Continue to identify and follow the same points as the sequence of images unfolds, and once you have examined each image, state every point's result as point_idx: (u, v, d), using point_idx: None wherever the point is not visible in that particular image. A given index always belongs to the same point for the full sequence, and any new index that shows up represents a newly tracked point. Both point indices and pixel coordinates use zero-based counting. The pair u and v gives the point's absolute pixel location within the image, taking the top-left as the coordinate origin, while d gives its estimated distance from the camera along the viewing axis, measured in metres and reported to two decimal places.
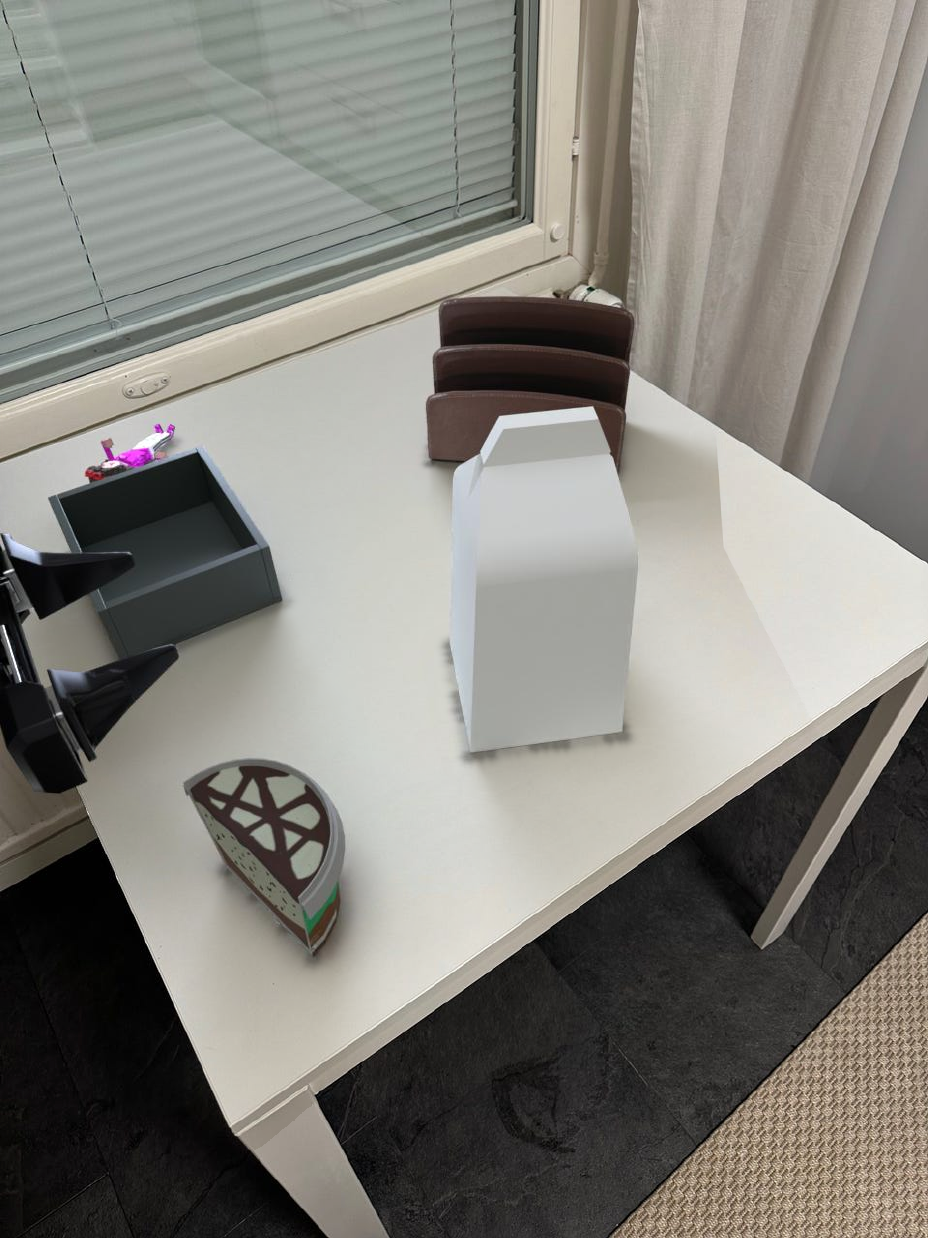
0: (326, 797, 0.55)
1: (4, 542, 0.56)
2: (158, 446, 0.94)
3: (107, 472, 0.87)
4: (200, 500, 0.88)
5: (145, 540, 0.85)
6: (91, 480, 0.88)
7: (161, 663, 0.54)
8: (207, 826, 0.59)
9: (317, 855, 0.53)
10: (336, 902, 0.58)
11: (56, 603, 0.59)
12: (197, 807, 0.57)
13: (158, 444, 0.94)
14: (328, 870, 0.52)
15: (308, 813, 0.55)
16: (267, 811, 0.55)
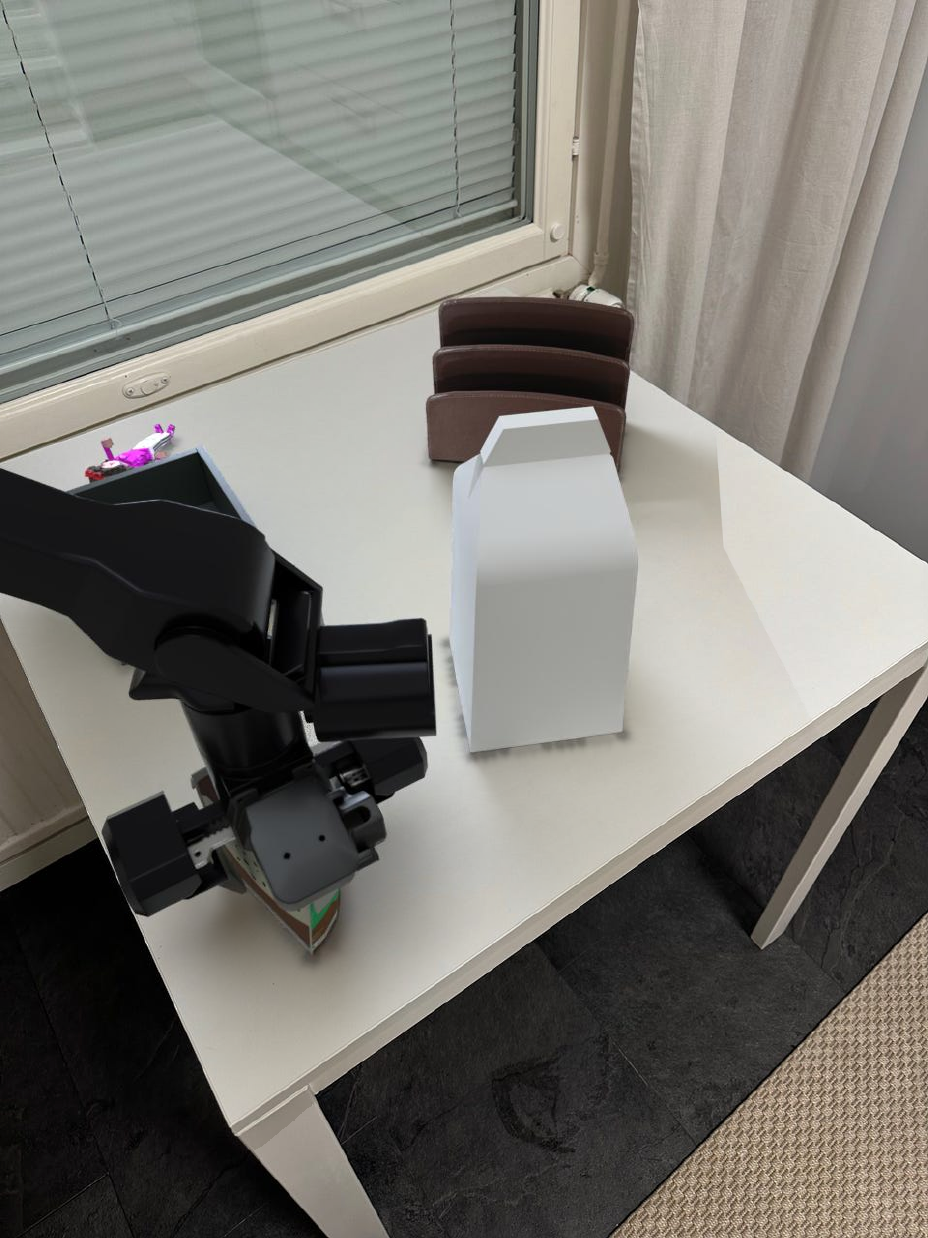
0: None
1: (378, 803, 0.55)
2: (158, 446, 0.94)
3: (107, 471, 0.87)
4: (200, 500, 0.88)
5: None
6: (91, 480, 0.88)
7: None
8: None
9: None
10: (338, 901, 0.59)
11: None
12: (202, 801, 0.57)
13: (158, 444, 0.94)
14: None
15: None
16: None
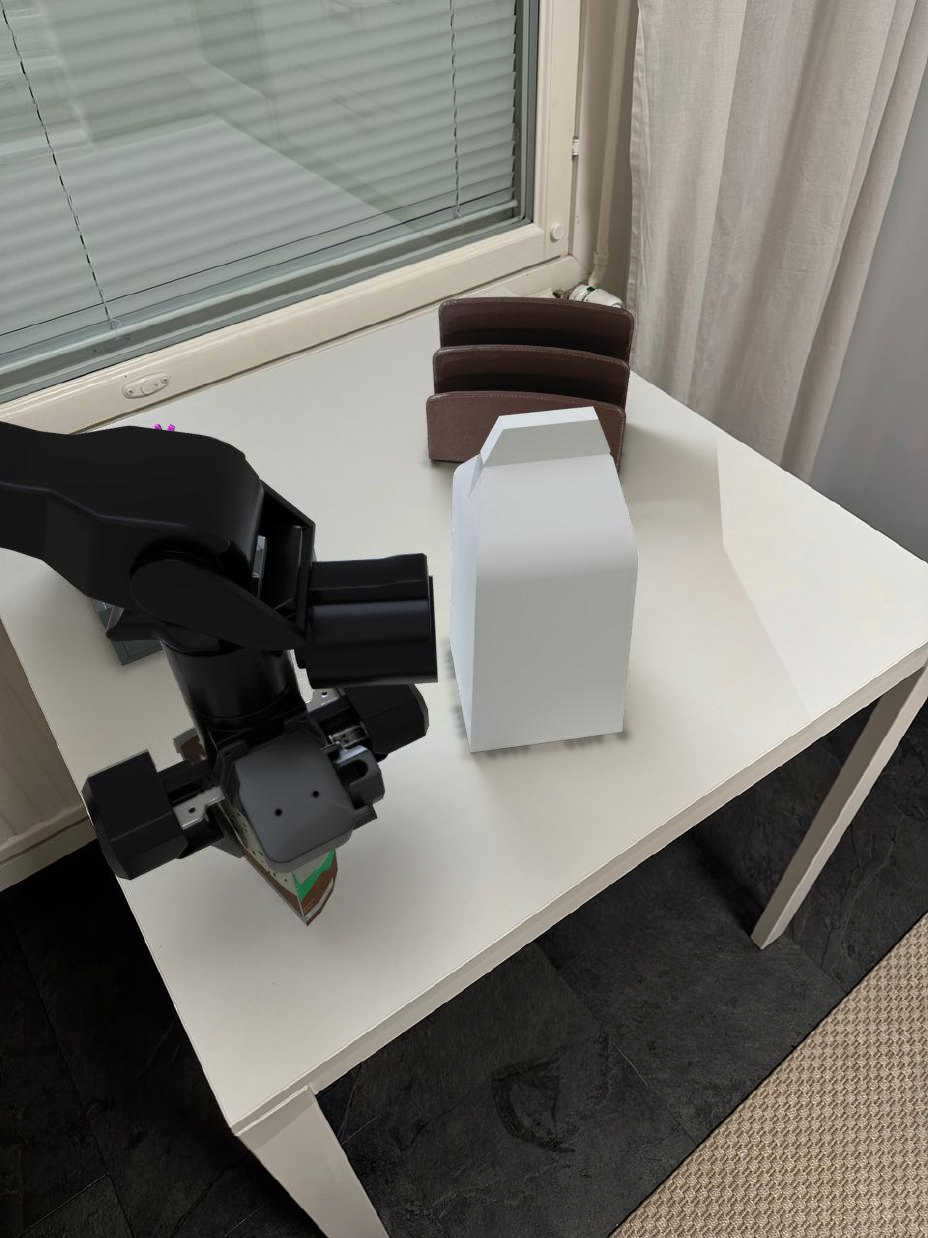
0: None
1: None
2: None
3: None
4: None
5: None
6: None
7: None
8: None
9: None
10: (332, 870, 0.55)
11: None
12: None
13: None
14: None
15: None
16: None
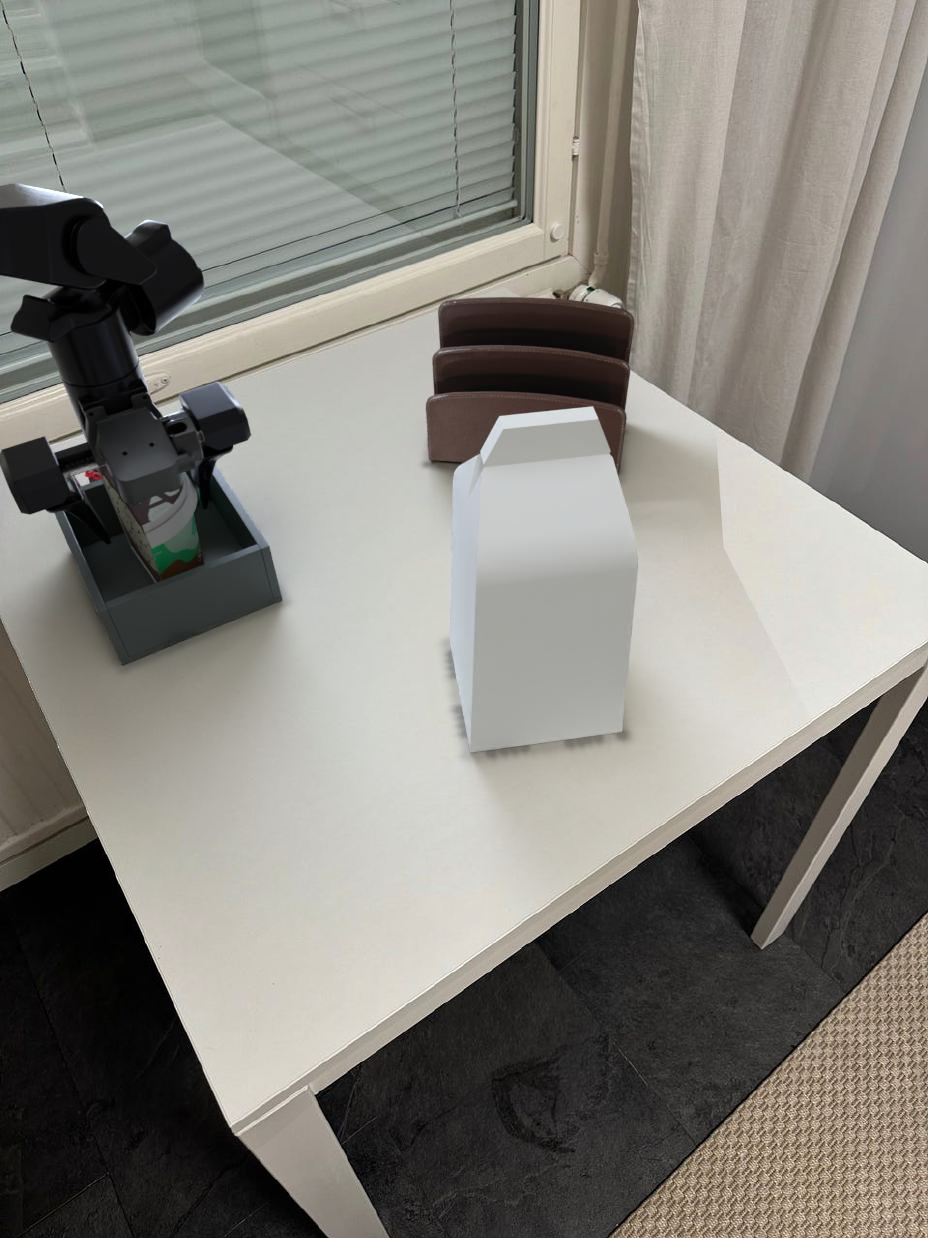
0: (187, 479, 0.76)
1: (219, 454, 0.73)
2: None
3: None
4: None
5: None
6: (91, 480, 0.88)
7: None
8: (113, 503, 0.80)
9: (168, 510, 0.74)
10: None
11: None
12: (104, 483, 0.79)
13: None
14: (171, 517, 0.73)
15: None
16: None
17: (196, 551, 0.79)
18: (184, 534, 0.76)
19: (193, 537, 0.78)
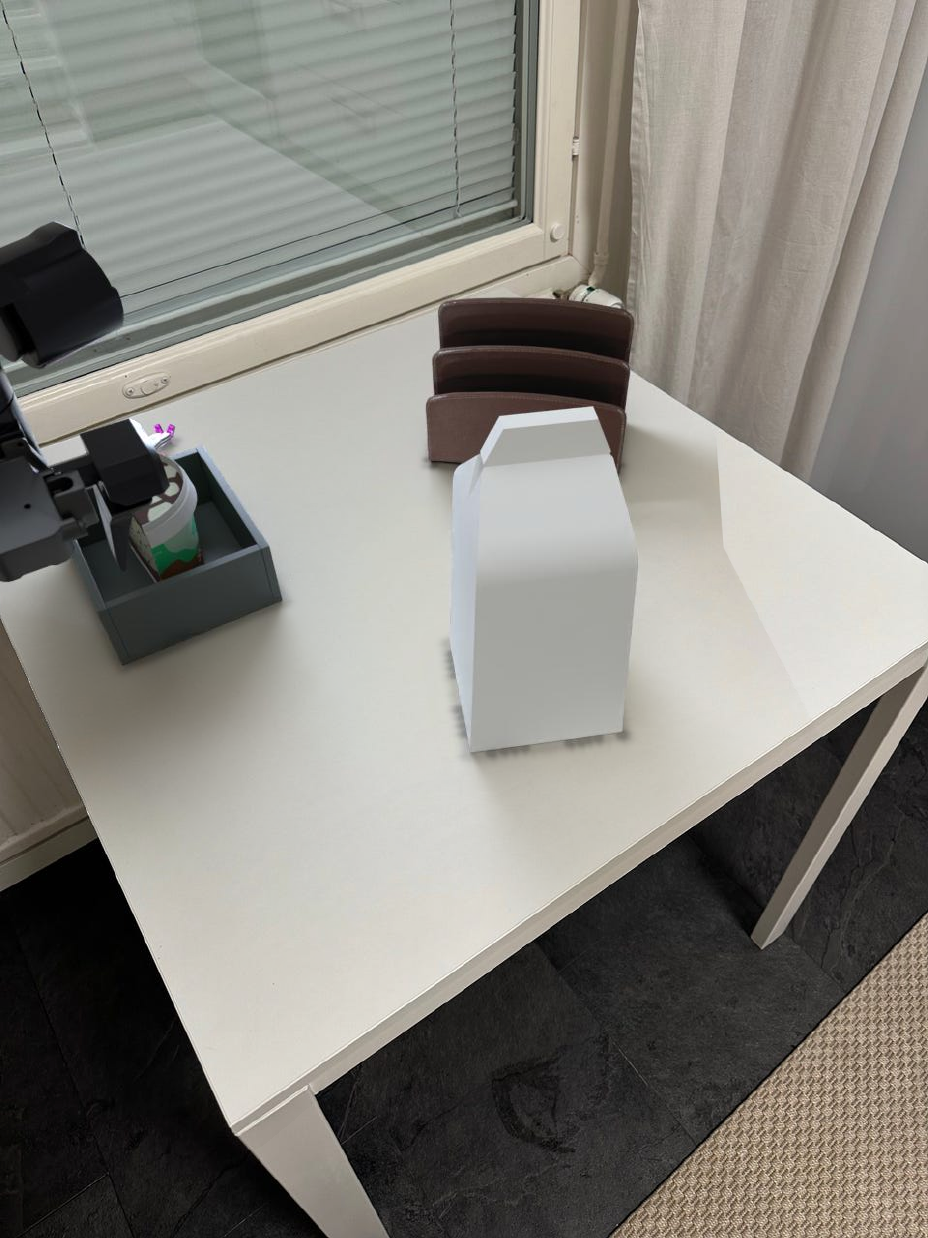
0: (187, 479, 0.76)
1: (133, 509, 0.58)
2: (158, 446, 0.94)
3: None
4: (200, 500, 0.88)
5: None
6: None
7: None
8: None
9: (167, 510, 0.74)
10: None
11: (95, 493, 0.61)
12: None
13: (158, 444, 0.94)
14: (170, 517, 0.73)
15: (172, 487, 0.76)
16: None
17: (196, 551, 0.79)
18: (184, 534, 0.76)
19: (193, 537, 0.78)
